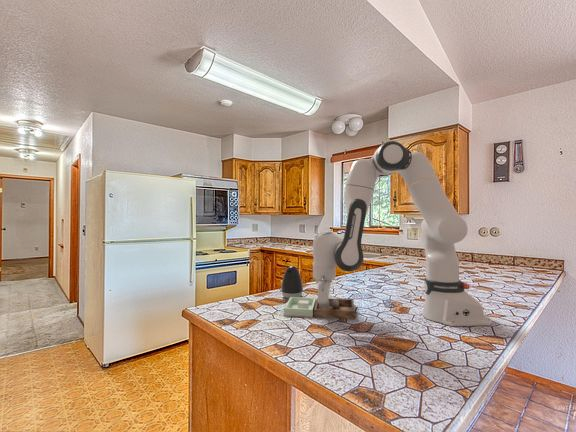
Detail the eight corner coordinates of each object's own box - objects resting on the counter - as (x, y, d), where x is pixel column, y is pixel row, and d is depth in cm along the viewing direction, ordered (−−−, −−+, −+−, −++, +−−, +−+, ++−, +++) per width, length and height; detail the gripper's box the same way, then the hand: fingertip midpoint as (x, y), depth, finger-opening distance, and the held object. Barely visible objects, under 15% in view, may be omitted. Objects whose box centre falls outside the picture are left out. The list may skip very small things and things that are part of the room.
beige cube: (329, 309, 120) (329, 300, 120) (329, 313, 116) (329, 302, 116) (319, 309, 121) (319, 299, 121) (318, 312, 117) (318, 302, 117)
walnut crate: (353, 307, 125) (353, 299, 125) (355, 321, 110) (355, 311, 110) (317, 306, 128) (317, 297, 128) (314, 319, 112) (313, 309, 112)
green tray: (316, 306, 128) (316, 297, 128) (312, 319, 112) (312, 309, 112) (290, 304, 130) (290, 296, 130) (283, 317, 114) (283, 308, 114)
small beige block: (309, 310, 120) (309, 300, 119) (308, 313, 116) (308, 303, 116) (299, 310, 120) (299, 300, 120) (297, 313, 116) (297, 303, 116)
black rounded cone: (277, 300, 137) (277, 267, 137) (286, 294, 147) (285, 263, 147) (298, 302, 133) (298, 268, 133) (306, 296, 143) (305, 264, 143)
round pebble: (339, 306, 125) (339, 298, 125) (339, 309, 121) (339, 300, 121) (330, 306, 125) (330, 297, 125) (330, 308, 122) (330, 300, 122)
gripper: (331, 279, 108) (331, 317, 108) (332, 269, 128) (333, 301, 128) (313, 278, 109) (314, 317, 109) (318, 268, 129) (318, 300, 129)
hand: (324, 308), depth 118 cm, fingers closed on beige cube, 4 cm apart
